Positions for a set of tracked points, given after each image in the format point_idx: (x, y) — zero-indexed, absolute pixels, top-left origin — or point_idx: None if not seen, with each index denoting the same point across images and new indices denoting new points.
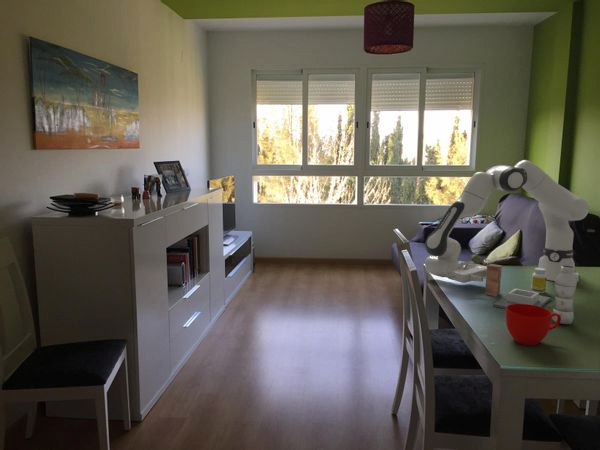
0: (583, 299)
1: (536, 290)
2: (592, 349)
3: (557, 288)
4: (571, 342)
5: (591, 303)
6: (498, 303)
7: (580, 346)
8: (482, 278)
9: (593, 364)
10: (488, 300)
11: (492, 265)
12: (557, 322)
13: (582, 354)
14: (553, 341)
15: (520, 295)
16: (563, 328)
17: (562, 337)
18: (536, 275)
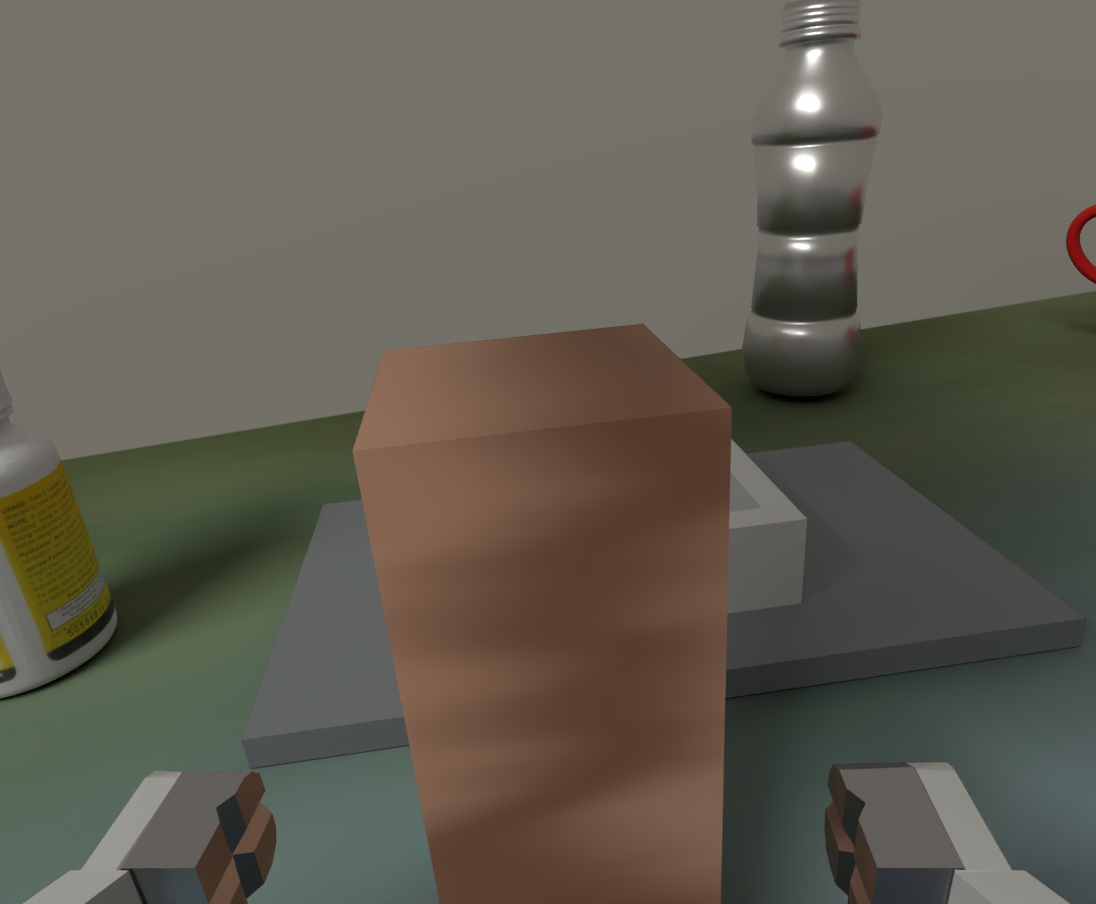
0: (172, 463)
1: (107, 614)
2: (960, 315)
3: (872, 163)
4: (992, 336)
5: (255, 433)
6: (1002, 600)
7: (987, 324)
8: (869, 774)
9: (1079, 294)
10: (967, 788)
11: (546, 389)
12: (1082, 251)
13: (1050, 311)
14: (1081, 347)
15: (738, 459)
16: (867, 374)
17: (986, 351)
18: (26, 455)
